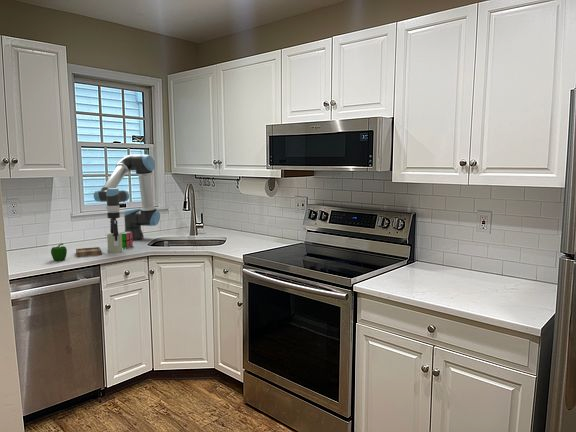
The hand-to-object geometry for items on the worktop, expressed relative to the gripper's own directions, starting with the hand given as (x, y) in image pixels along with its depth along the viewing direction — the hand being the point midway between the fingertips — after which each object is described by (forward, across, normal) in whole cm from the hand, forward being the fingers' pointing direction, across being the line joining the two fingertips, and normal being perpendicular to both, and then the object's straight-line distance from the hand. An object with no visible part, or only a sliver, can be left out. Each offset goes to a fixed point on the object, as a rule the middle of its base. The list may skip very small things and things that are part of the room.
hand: (114, 244), depth 291 cm
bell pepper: (+5, +13, -33) cm, 36 cm away
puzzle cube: (+5, -16, +7) cm, 18 cm away
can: (+5, 0, 0) cm, 5 cm away
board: (+5, +1, -16) cm, 17 cm away
